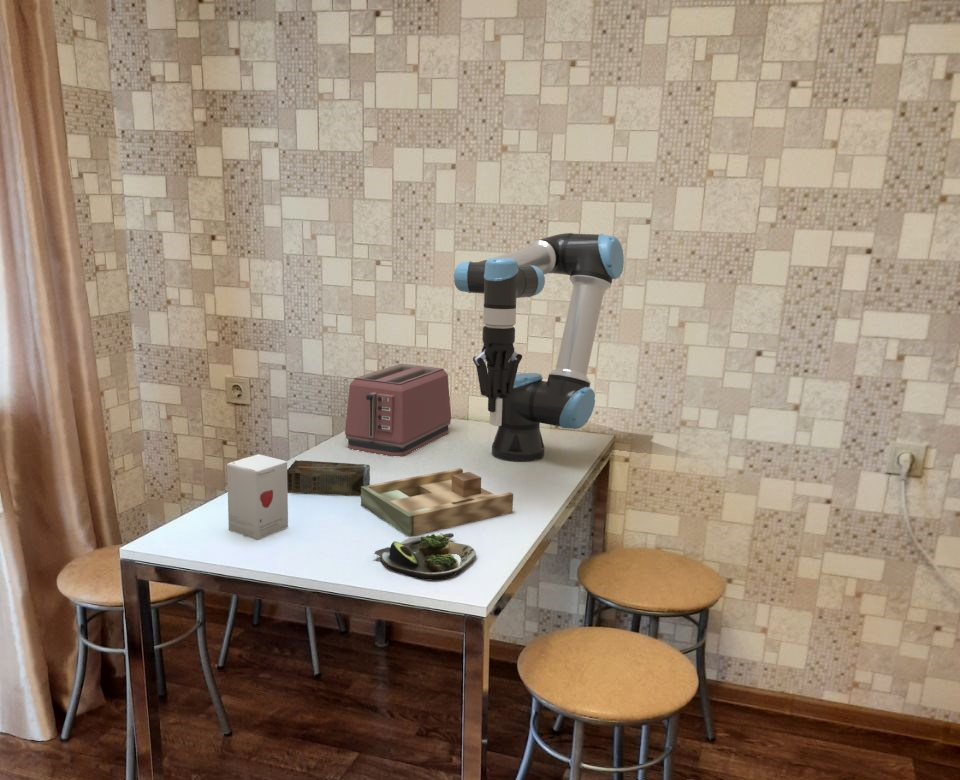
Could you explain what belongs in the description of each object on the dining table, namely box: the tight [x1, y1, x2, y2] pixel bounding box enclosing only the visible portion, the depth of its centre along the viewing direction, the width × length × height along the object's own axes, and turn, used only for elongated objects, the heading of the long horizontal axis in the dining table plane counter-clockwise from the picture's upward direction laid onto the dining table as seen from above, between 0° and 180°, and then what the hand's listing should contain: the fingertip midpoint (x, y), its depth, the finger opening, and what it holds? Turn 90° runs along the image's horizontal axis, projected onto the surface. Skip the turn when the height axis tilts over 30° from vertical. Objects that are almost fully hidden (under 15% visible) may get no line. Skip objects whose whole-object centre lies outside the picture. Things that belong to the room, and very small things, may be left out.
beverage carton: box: [287, 459, 371, 497], centre depth 197 cm, size 8×19×7 cm, turn 87°
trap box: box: [360, 468, 514, 538], centre depth 186 cm, size 28×22×4 cm
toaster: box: [344, 363, 452, 457], centre depth 239 cm, size 19×34×20 cm, turn 156°
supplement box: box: [226, 453, 289, 541], centre depth 170 cm, size 9×9×15 cm
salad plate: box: [373, 532, 477, 581], centre depth 160 cm, size 19×18×5 cm
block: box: [451, 471, 482, 497], centre depth 190 cm, size 5×5×4 cm
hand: (495, 424), depth 192 cm, fingers closed
